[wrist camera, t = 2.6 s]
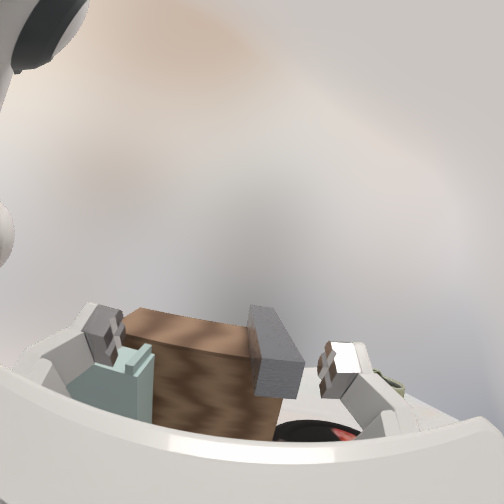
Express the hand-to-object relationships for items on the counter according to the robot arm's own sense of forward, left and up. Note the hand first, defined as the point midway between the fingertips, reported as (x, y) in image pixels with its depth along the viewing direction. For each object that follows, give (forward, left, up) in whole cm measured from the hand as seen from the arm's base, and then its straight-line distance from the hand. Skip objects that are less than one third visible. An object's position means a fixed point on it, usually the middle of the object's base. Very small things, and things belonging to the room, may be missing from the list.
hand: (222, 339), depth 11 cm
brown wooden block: (-3, +27, -34) cm, 43 cm away
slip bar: (+5, +22, -8) cm, 24 cm away
